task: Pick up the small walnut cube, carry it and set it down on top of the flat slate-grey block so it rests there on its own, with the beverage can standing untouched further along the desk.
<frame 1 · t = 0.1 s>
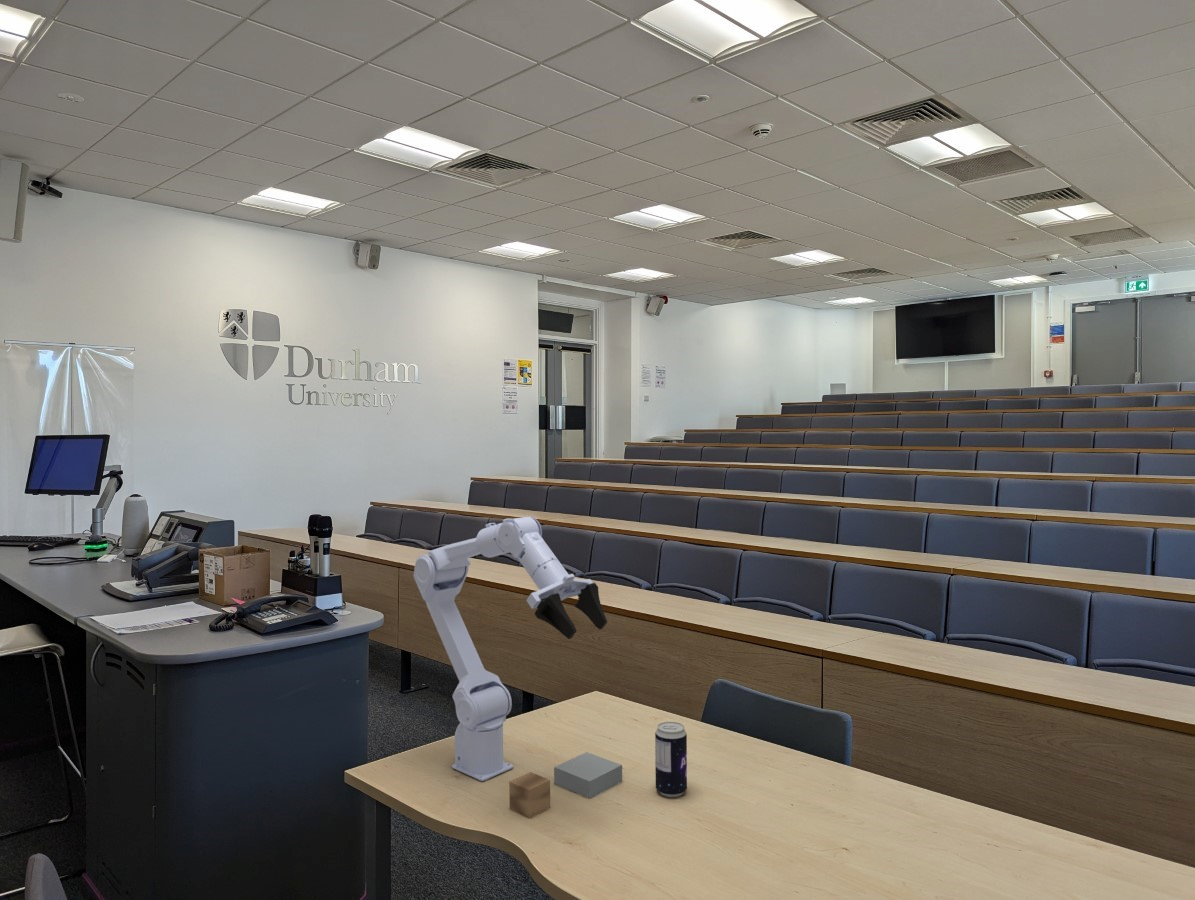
hand: (588, 630, 133), 32 cm above the table, tool tilted 50°, fingers open, 7 cm apart
beverage can: (671, 793, 142), on the table
grey block: (588, 784, 146), on the table
walnut cube: (530, 809, 136), on the table
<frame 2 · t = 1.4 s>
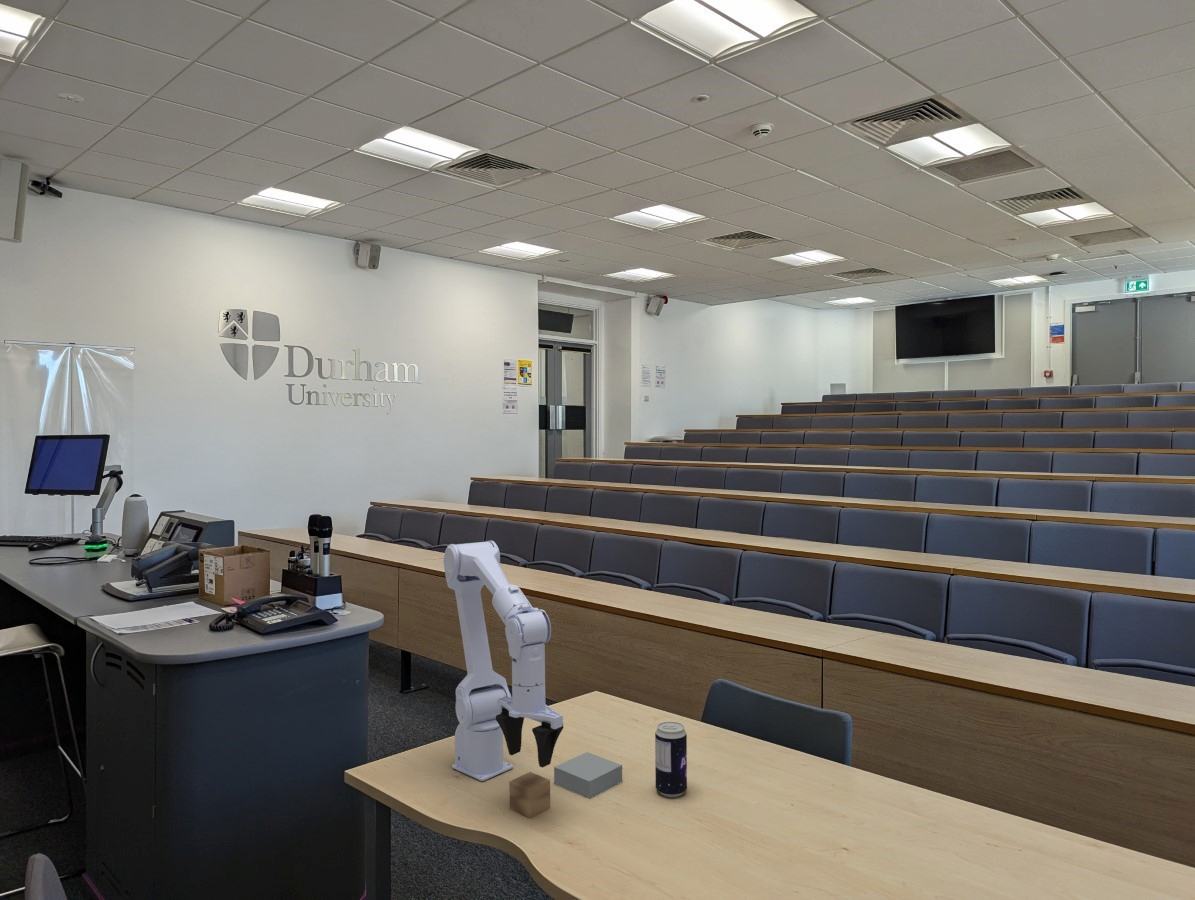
hand: (529, 759, 136), 9 cm above the table, tool pointing down, fingers open, 7 cm apart
nothing on the table moved.
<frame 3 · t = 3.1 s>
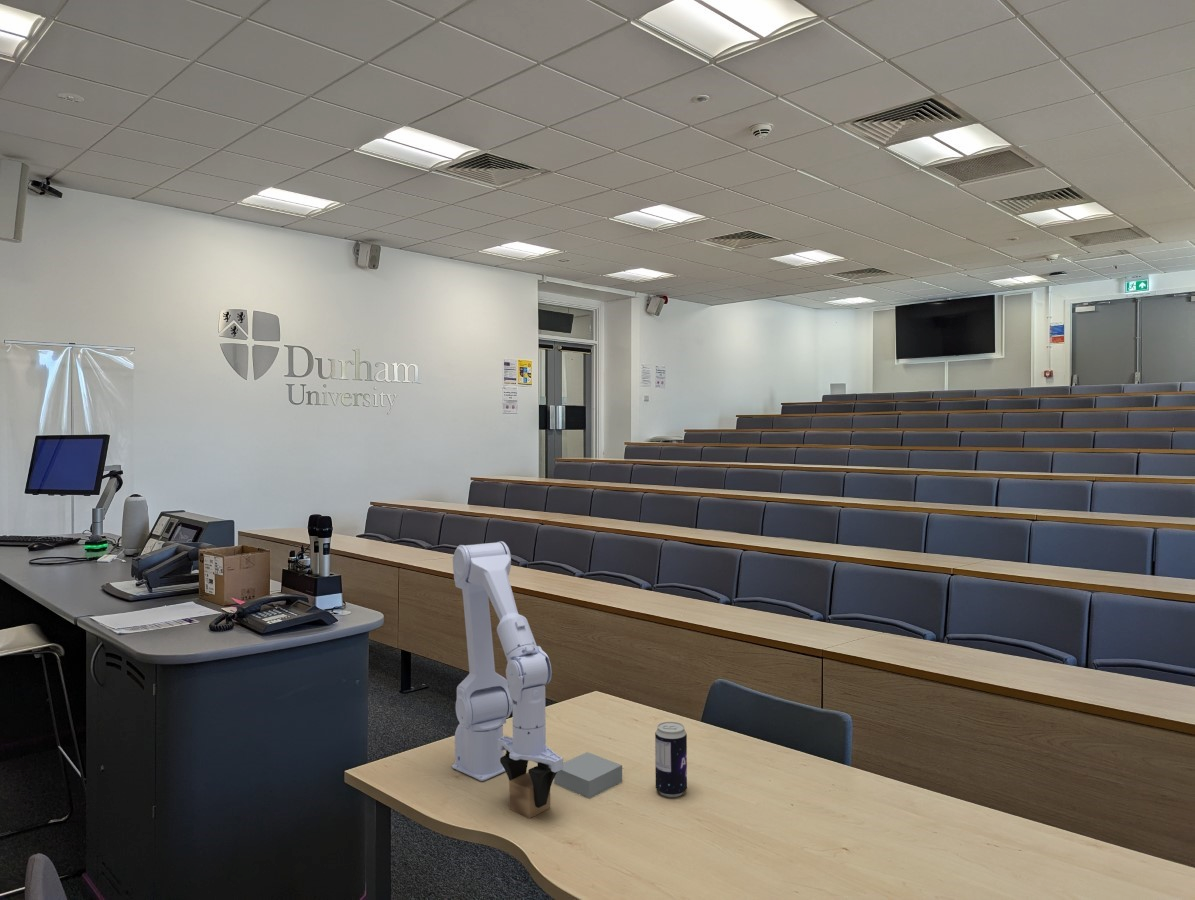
hand: (529, 800, 136), 1 cm above the table, tool pointing down, fingers closed on walnut cube, 5 cm apart
walnut cube: (530, 808, 136), on the table, touching gripper
everything else where it was.
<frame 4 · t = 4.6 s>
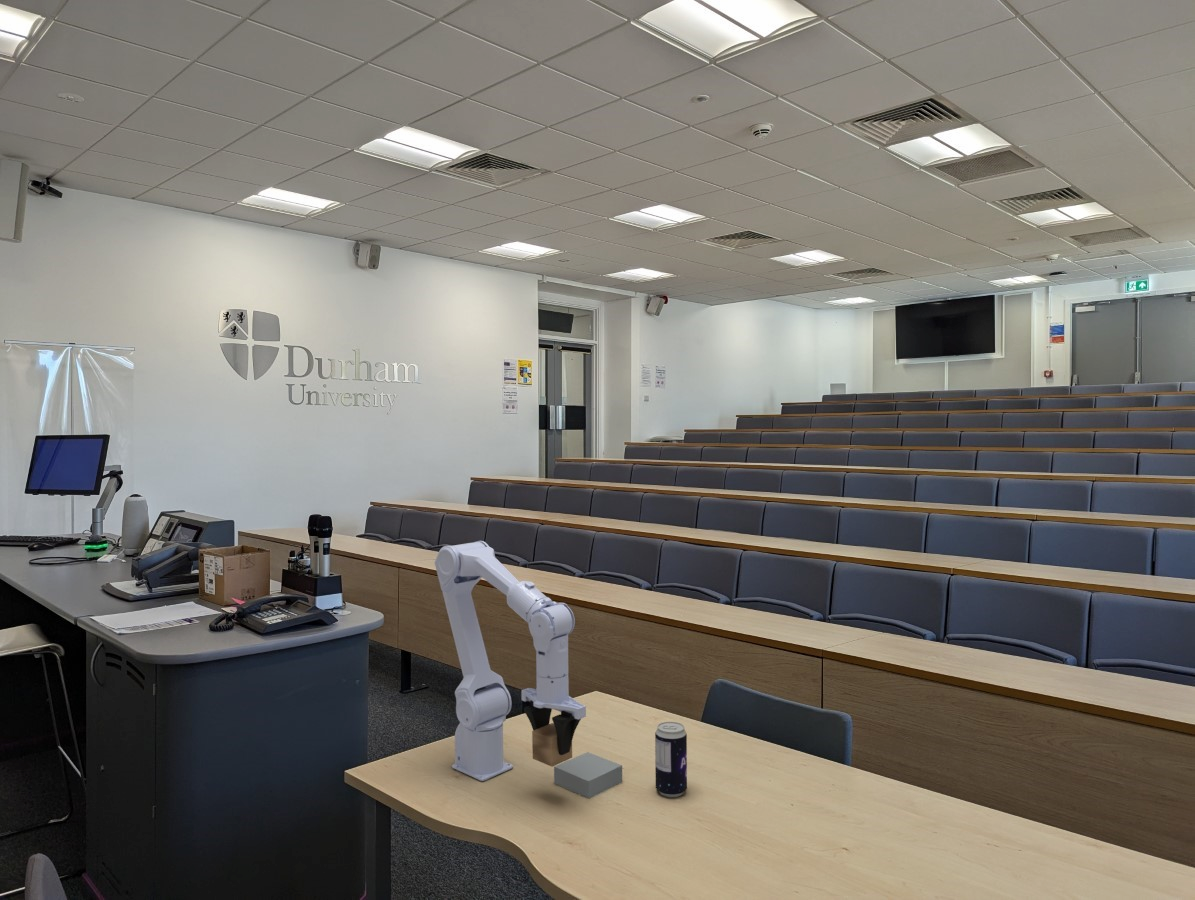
hand: (553, 748, 140), 9 cm above the table, tool pointing down, fingers closed on walnut cube, 5 cm apart
walnut cube: (552, 758, 140), point 7 cm above the table, touching gripper
everything else where it was.
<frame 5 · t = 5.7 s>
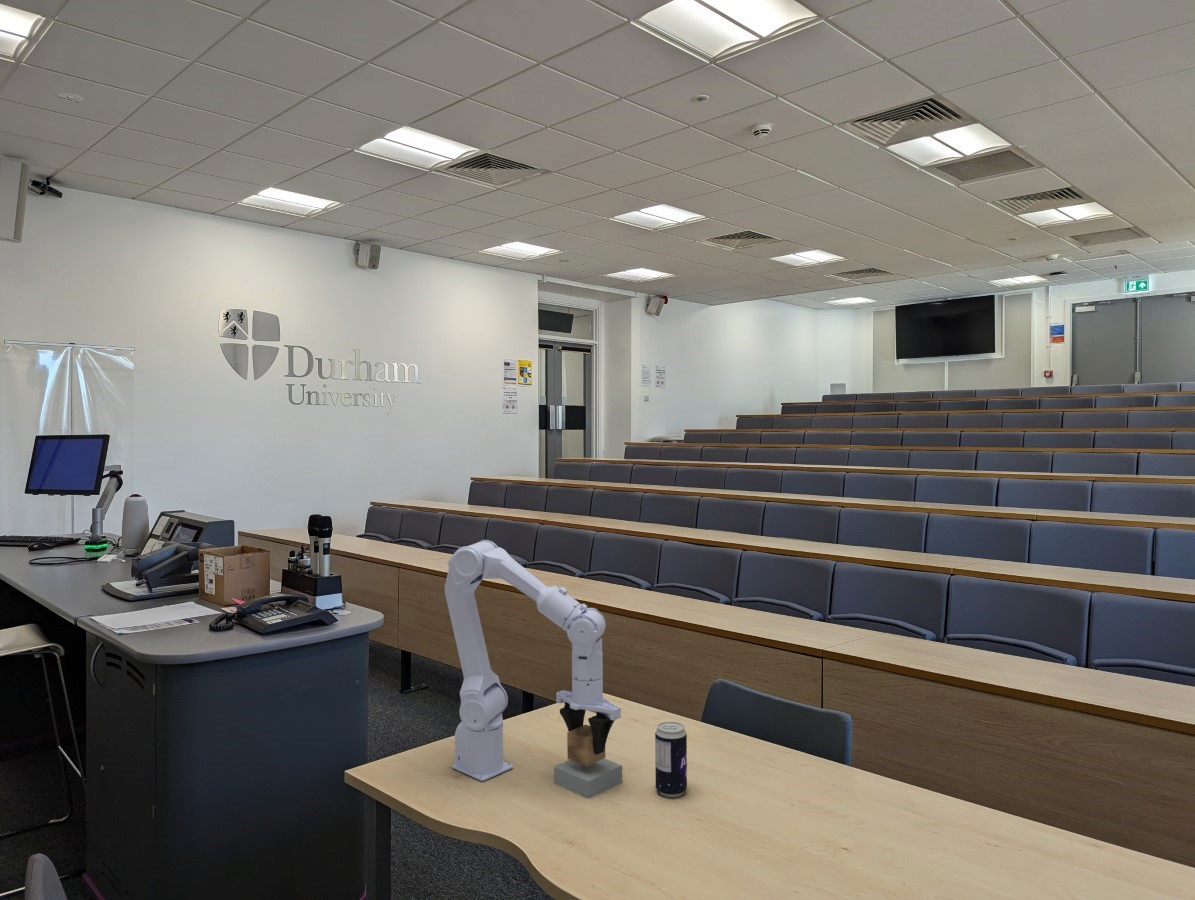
hand: (587, 748, 146), 6 cm above the table, tool pointing down, fingers closed on walnut cube, 5 cm apart
walnut cube: (586, 758, 146), point 5 cm above the table, touching gripper
everything else where it was.
when the fingers open (6 cm above the table, at t = 6.5 s): walnut cube drops 2 cm, resting on grey block.
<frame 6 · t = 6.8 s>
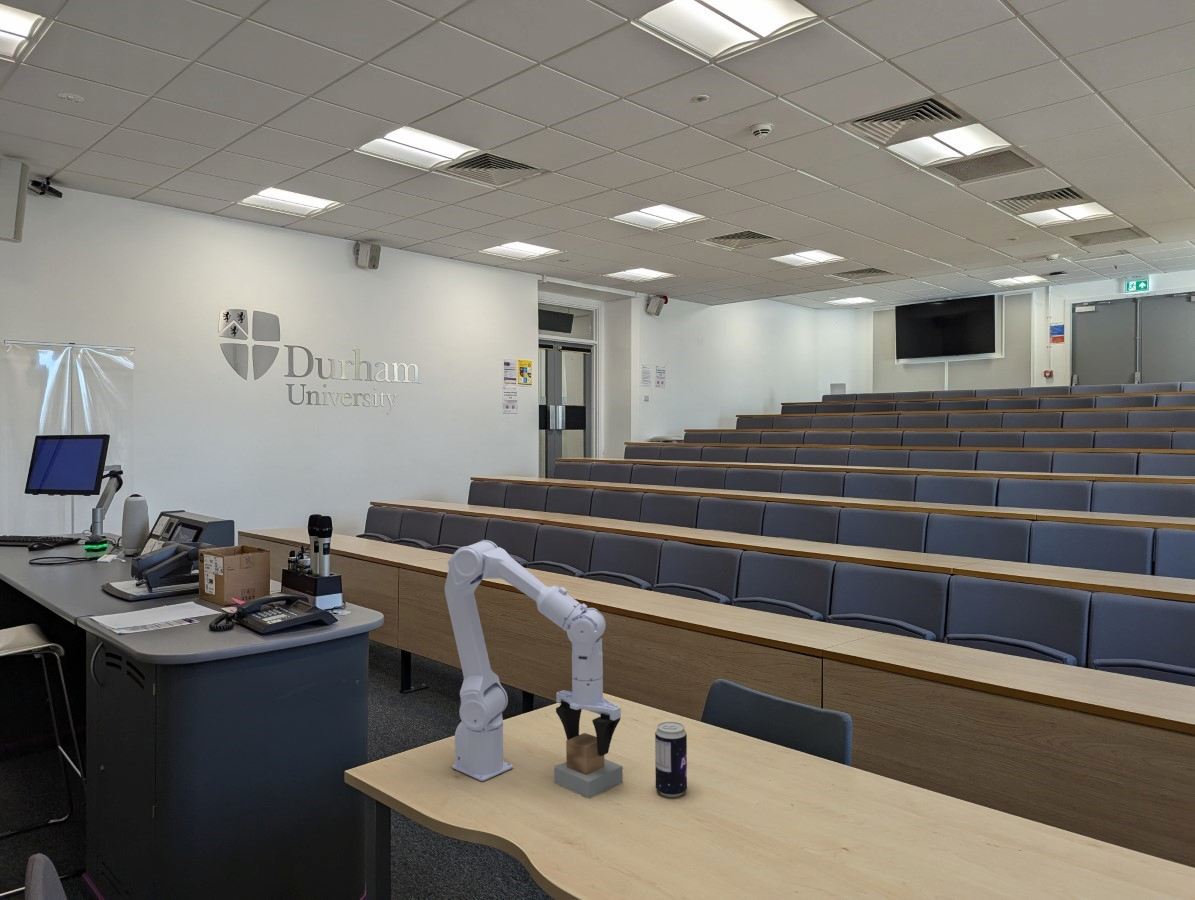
hand: (588, 748, 146), 6 cm above the table, tool pointing down, fingers open, 7 cm apart
grey block: (588, 784, 146), on the table, touching walnut cube
walnut cube: (585, 766, 146), point 3 cm above the table, touching grey block
everything else where it was.
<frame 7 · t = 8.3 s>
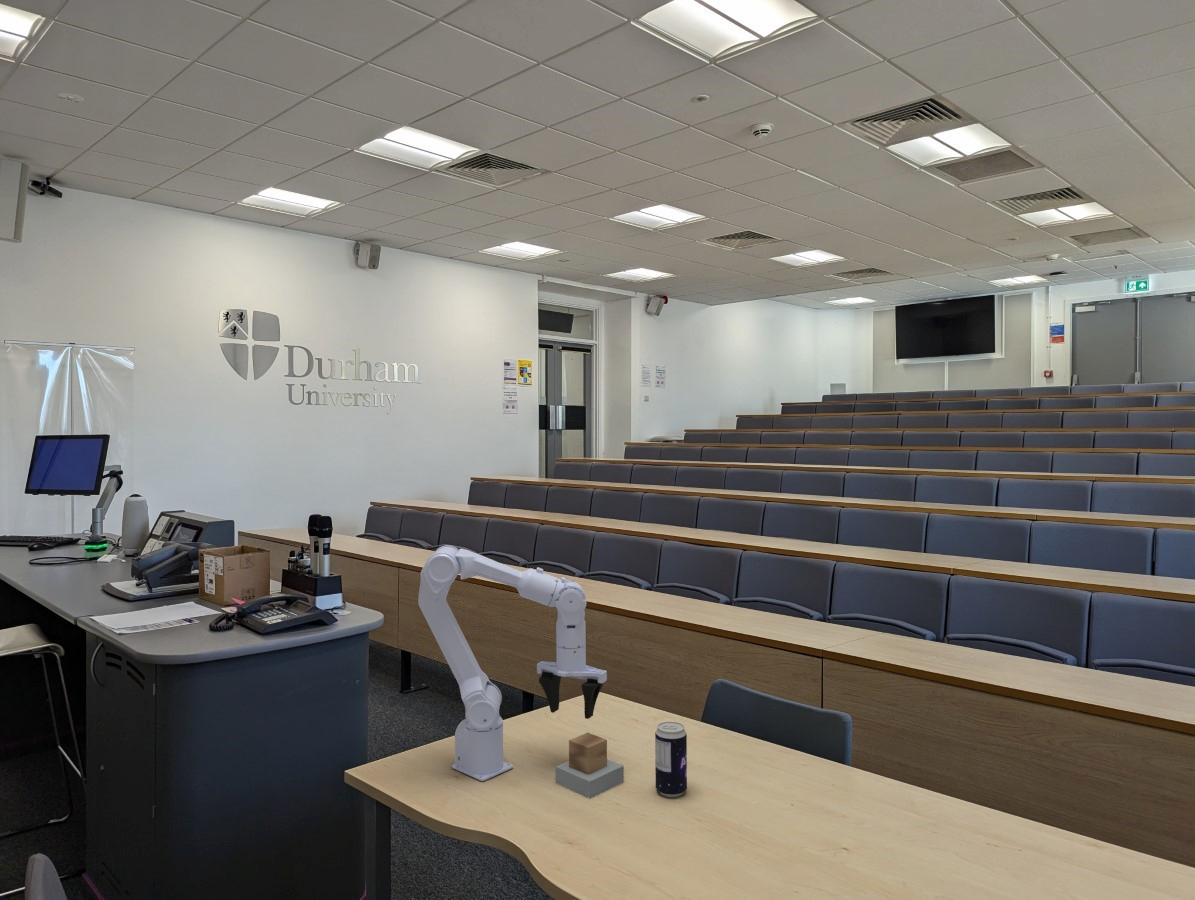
hand: (571, 713, 153), 10 cm above the table, tool pointing down, fingers open, 7 cm apart
nothing on the table moved.
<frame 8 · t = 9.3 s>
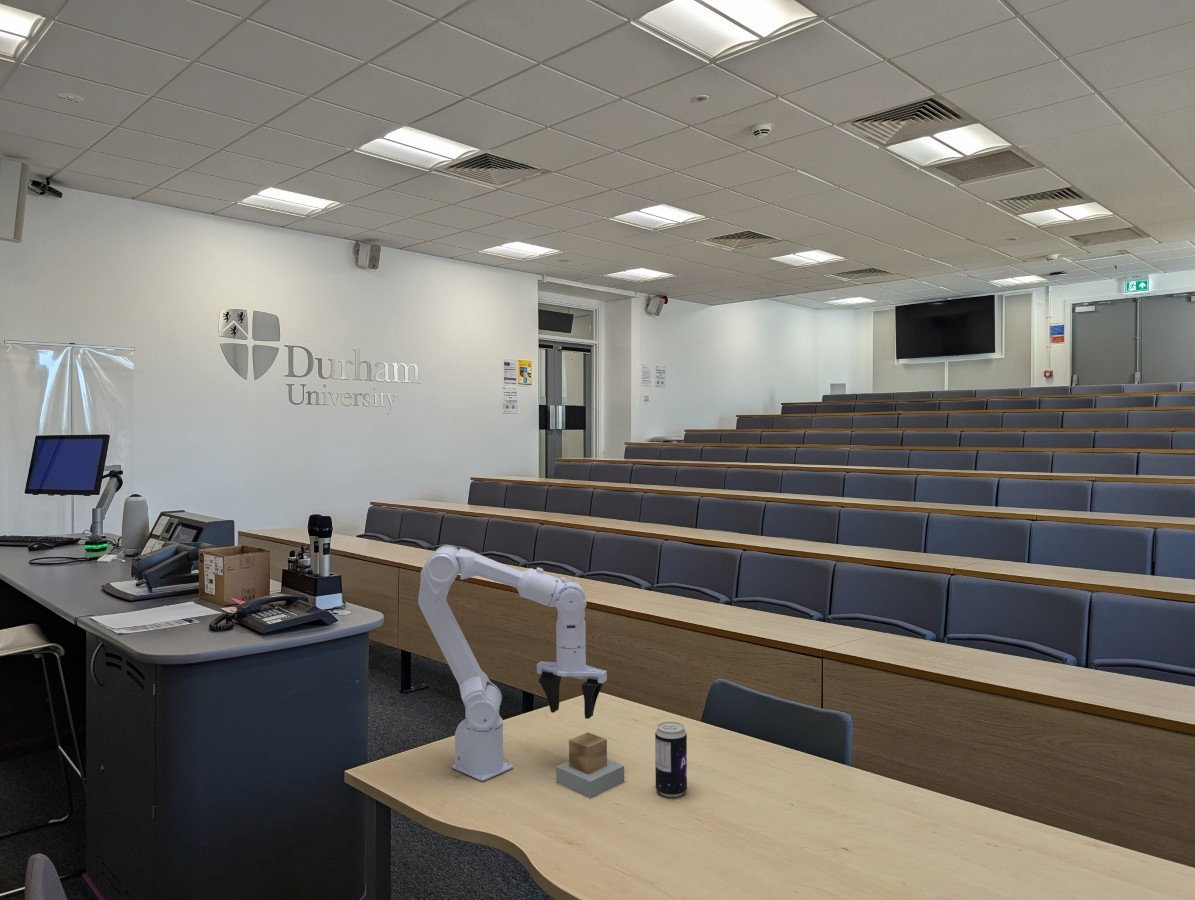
hand: (571, 713, 153), 10 cm above the table, tool pointing down, fingers open, 7 cm apart
nothing on the table moved.
at the end: walnut cube inside the target area on the grey block (0.4 cm from its centre), point 3.5 cm above the grey block's base; walnut cube tilted 0°; walnut cube touching grey block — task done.
